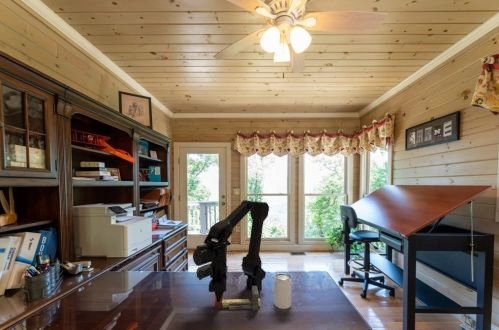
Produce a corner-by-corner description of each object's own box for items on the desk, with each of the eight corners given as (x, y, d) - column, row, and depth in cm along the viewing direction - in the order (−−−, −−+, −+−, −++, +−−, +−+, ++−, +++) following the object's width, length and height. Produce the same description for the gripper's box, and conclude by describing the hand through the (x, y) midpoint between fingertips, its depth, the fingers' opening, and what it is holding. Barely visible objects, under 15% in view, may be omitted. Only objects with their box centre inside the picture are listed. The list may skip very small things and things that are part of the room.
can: (280, 313, 93) (280, 281, 93) (271, 305, 99) (271, 274, 99) (294, 309, 96) (294, 278, 96) (284, 301, 102) (284, 271, 102)
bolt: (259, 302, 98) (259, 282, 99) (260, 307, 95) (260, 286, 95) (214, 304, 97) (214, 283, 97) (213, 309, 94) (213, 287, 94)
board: (263, 300, 102) (263, 283, 102) (267, 316, 91) (267, 296, 91) (197, 302, 101) (197, 284, 101) (192, 318, 90) (192, 298, 90)
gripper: (201, 250, 105) (200, 288, 104) (194, 268, 86) (193, 313, 86) (227, 250, 105) (227, 287, 105) (226, 267, 87) (226, 312, 87)
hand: (218, 299), depth 96 cm, fingers closed on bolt, 4 cm apart
